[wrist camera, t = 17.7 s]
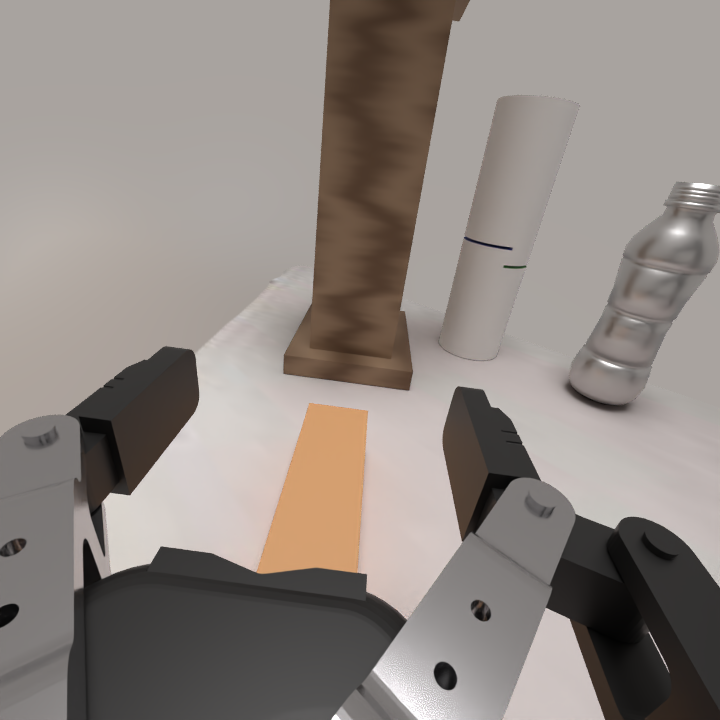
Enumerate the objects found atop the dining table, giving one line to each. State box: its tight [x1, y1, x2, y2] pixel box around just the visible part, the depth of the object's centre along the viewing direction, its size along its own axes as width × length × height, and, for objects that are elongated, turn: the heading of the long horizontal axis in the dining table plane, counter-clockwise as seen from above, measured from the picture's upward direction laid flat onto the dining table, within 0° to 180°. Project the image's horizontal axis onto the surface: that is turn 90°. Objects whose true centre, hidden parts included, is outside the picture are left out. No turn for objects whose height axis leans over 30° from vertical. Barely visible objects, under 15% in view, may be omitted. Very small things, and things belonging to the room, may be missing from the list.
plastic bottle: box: [569, 182, 720, 405], centre depth 34 cm, size 6×7×20 cm
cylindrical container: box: [439, 95, 580, 361], centre depth 40 cm, size 7×7×25 cm
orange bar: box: [257, 403, 368, 574], centre depth 17 cm, size 4×20×4 cm, turn 177°
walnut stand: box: [284, 0, 470, 390], centre depth 34 cm, size 12×16×33 cm
